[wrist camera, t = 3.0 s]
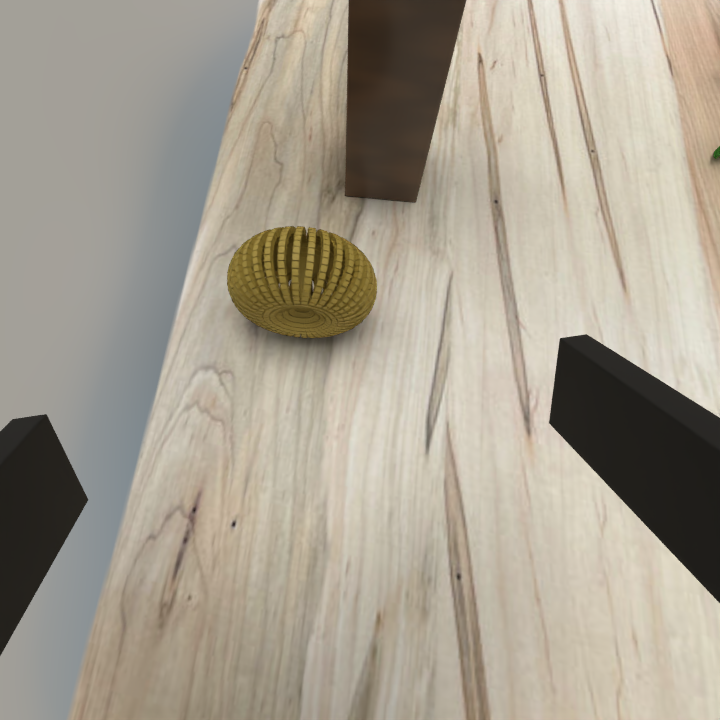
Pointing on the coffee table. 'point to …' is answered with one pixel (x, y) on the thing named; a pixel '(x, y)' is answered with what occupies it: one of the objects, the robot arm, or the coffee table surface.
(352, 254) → the sculpture
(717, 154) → the flower
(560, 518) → the coffee table surface
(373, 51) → the stand post
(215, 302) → the coffee table surface
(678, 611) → the coffee table surface
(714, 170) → the coffee table surface
